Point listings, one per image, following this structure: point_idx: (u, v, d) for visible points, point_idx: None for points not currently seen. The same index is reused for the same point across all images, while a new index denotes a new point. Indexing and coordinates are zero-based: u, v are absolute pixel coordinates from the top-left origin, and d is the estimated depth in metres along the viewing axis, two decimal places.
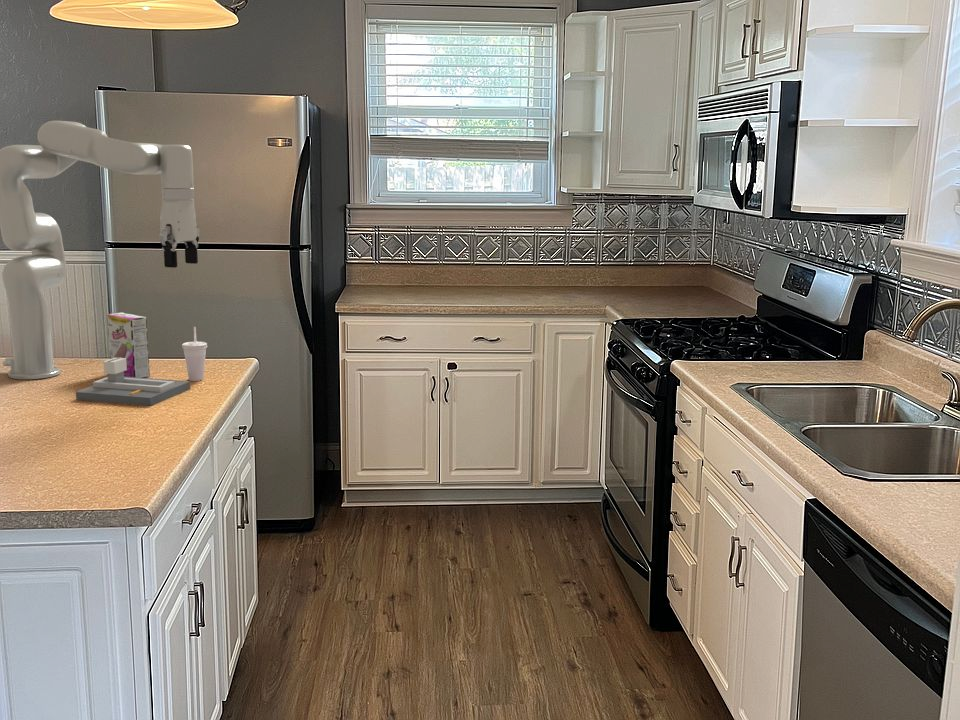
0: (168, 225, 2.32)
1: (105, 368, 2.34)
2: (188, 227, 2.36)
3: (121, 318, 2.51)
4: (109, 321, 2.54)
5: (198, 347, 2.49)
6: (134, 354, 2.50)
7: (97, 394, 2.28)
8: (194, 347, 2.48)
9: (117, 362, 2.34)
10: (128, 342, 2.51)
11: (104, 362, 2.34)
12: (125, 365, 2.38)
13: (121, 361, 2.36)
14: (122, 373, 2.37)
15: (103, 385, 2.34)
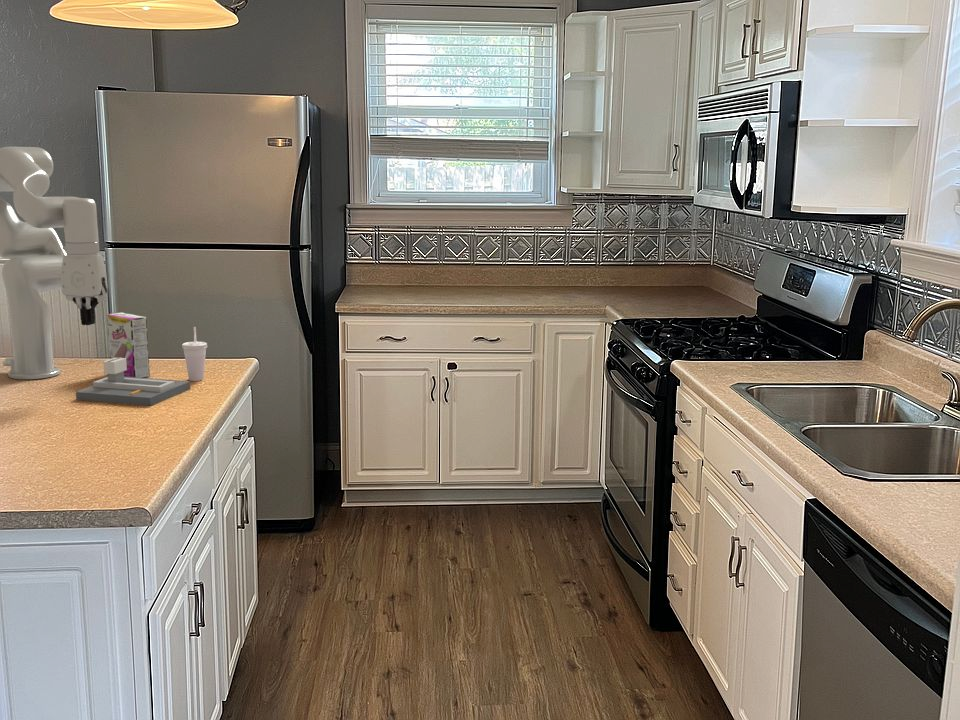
0: None
1: (105, 368, 2.34)
2: None
3: (121, 318, 2.51)
4: (109, 321, 2.54)
5: (198, 347, 2.49)
6: (134, 354, 2.50)
7: (97, 394, 2.28)
8: (194, 347, 2.48)
9: (117, 362, 2.34)
10: (128, 342, 2.51)
11: (104, 362, 2.34)
12: (125, 365, 2.38)
13: (121, 361, 2.36)
14: (122, 373, 2.37)
15: (103, 385, 2.34)
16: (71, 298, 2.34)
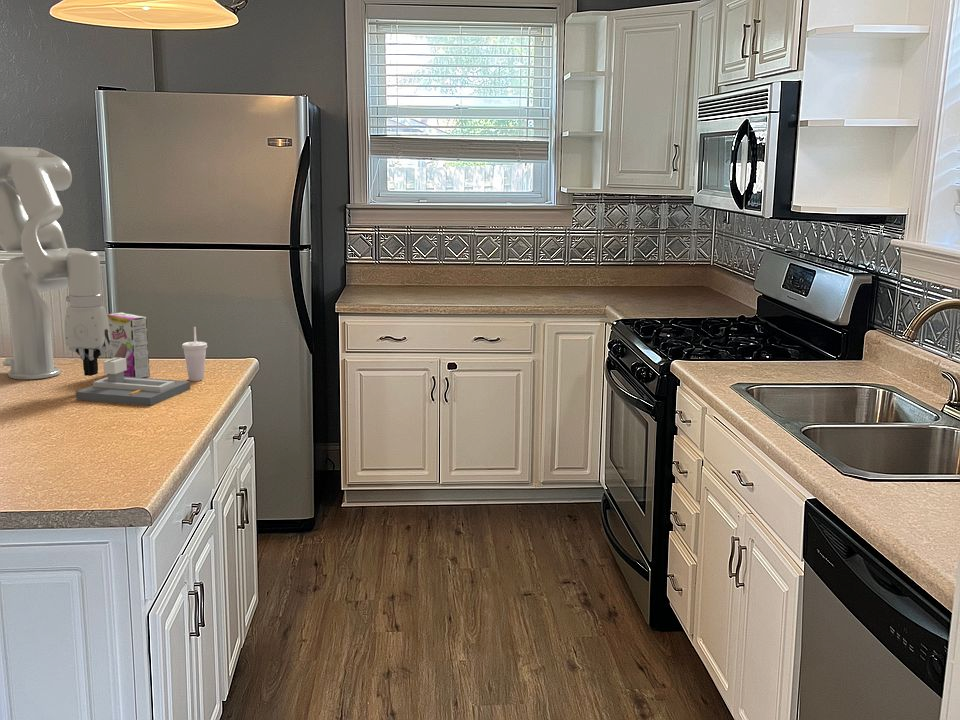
0: None
1: (105, 368, 2.34)
2: None
3: (121, 318, 2.51)
4: (109, 321, 2.54)
5: (198, 347, 2.49)
6: (134, 354, 2.50)
7: (97, 394, 2.28)
8: (194, 347, 2.48)
9: (117, 362, 2.34)
10: (128, 342, 2.51)
11: (104, 362, 2.34)
12: (125, 365, 2.38)
13: (121, 361, 2.36)
14: (122, 373, 2.37)
15: (103, 385, 2.34)
16: (74, 348, 2.37)
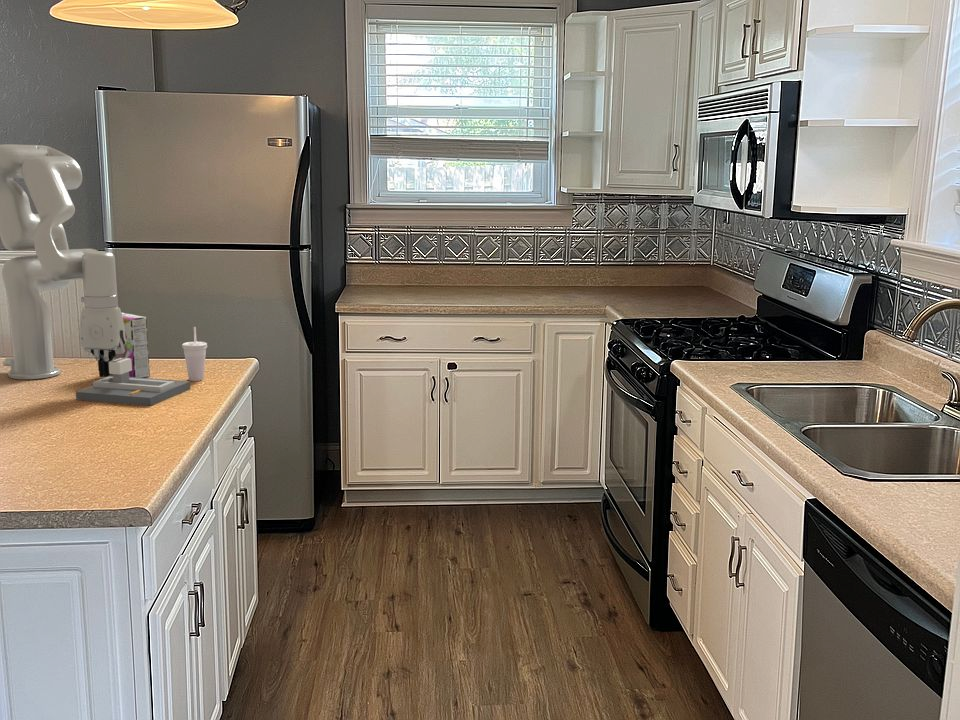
0: None
1: (110, 368, 2.34)
2: None
3: None
4: None
5: (198, 347, 2.49)
6: (134, 354, 2.50)
7: (97, 394, 2.28)
8: (194, 347, 2.48)
9: (122, 362, 2.34)
10: (128, 342, 2.51)
11: (109, 362, 2.33)
12: (130, 365, 2.37)
13: (126, 361, 2.36)
14: (127, 373, 2.37)
15: (103, 385, 2.34)
16: (89, 349, 2.36)
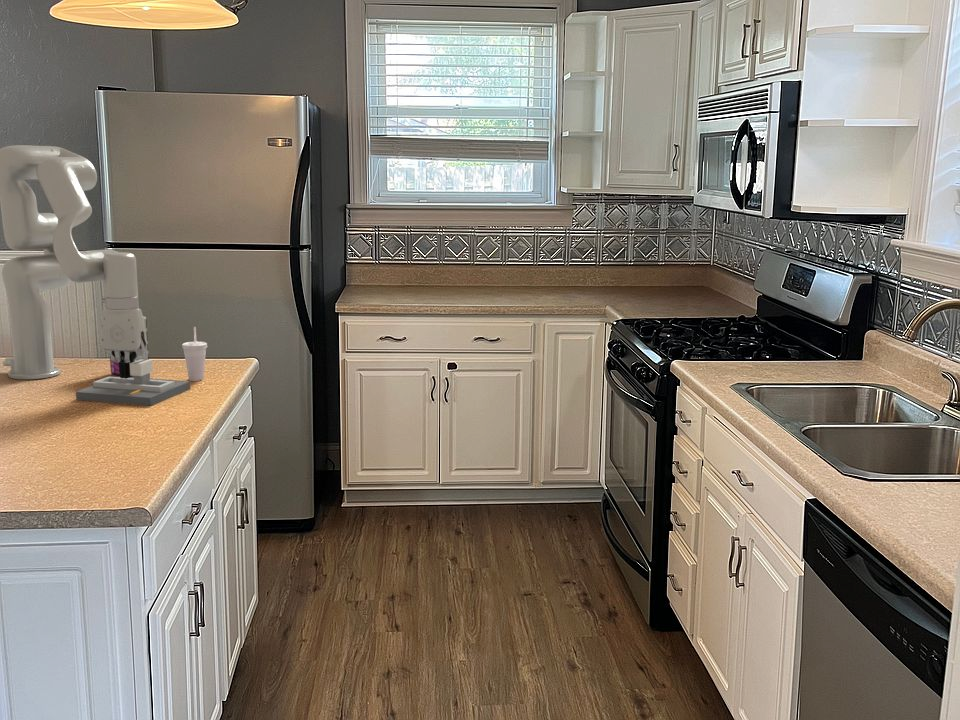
0: None
1: (131, 370, 2.32)
2: None
3: None
4: None
5: (198, 347, 2.49)
6: None
7: (97, 394, 2.28)
8: (194, 347, 2.48)
9: (143, 364, 2.33)
10: None
11: (130, 364, 2.32)
12: (151, 367, 2.36)
13: (147, 363, 2.34)
14: (148, 375, 2.36)
15: (103, 385, 2.34)
16: (109, 351, 2.35)
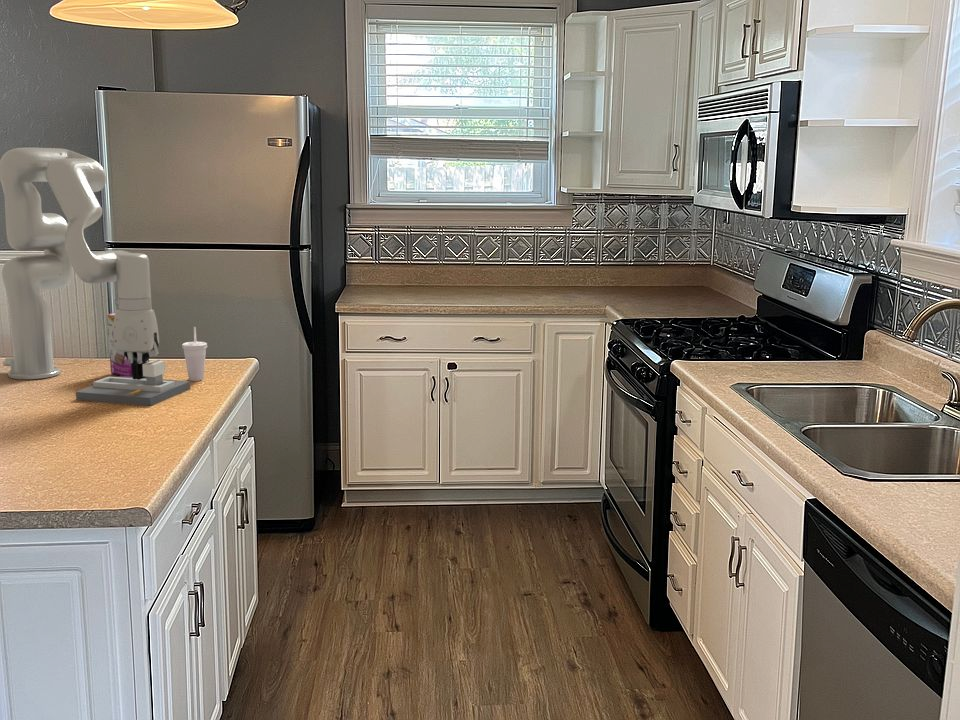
0: None
1: (144, 371, 2.32)
2: None
3: None
4: (109, 321, 2.54)
5: (198, 347, 2.49)
6: None
7: (97, 394, 2.28)
8: (194, 347, 2.48)
9: (156, 365, 2.32)
10: None
11: (143, 365, 2.31)
12: (164, 368, 2.35)
13: (160, 364, 2.34)
14: (161, 376, 2.35)
15: (103, 385, 2.34)
16: (122, 352, 2.34)
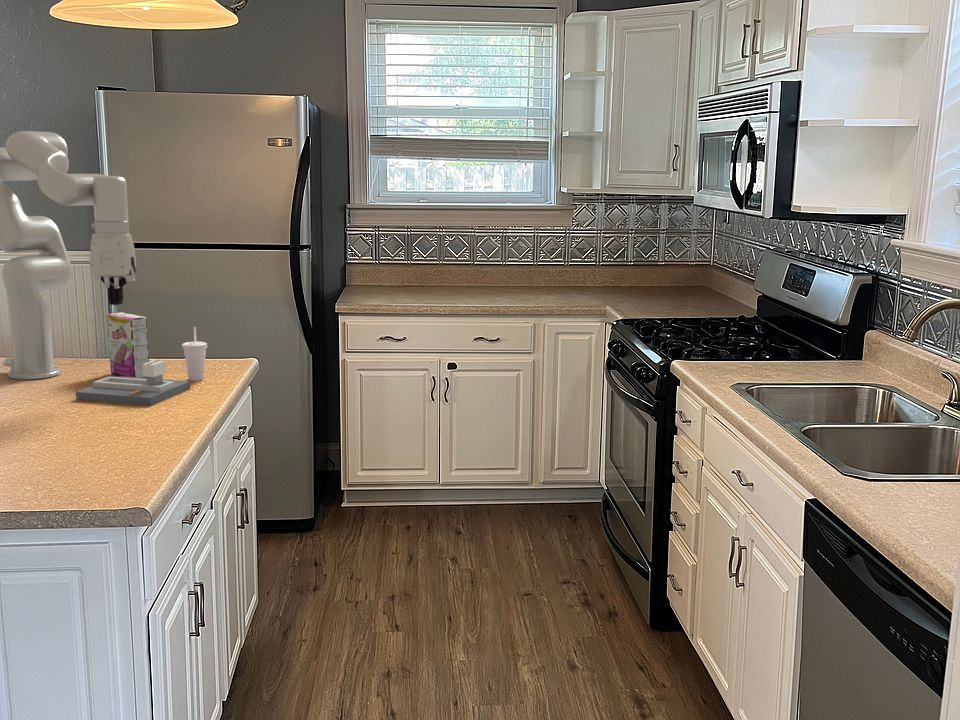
0: None
1: (144, 371, 2.32)
2: None
3: (121, 318, 2.51)
4: (109, 321, 2.54)
5: (198, 347, 2.49)
6: (134, 354, 2.50)
7: (97, 394, 2.28)
8: (194, 347, 2.48)
9: (156, 365, 2.32)
10: (128, 342, 2.51)
11: (143, 365, 2.31)
12: (164, 368, 2.35)
13: (160, 364, 2.34)
14: (161, 376, 2.35)
15: (103, 385, 2.34)
16: (99, 277, 2.32)
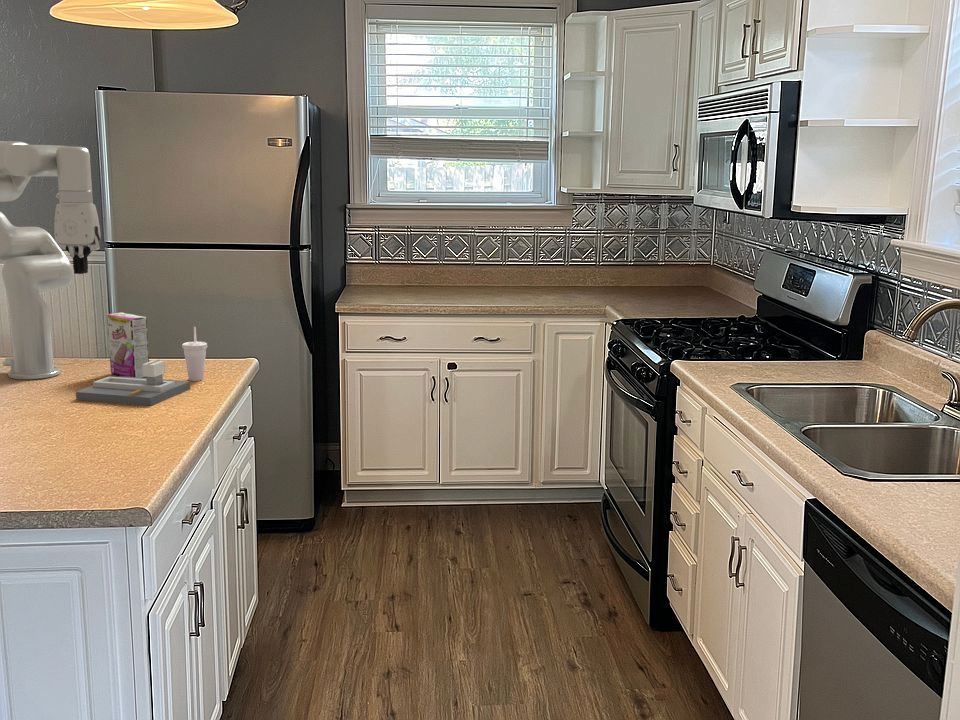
0: None
1: (144, 371, 2.32)
2: None
3: (121, 318, 2.51)
4: (109, 321, 2.54)
5: (198, 347, 2.49)
6: (134, 354, 2.50)
7: (97, 394, 2.28)
8: (194, 347, 2.48)
9: (156, 365, 2.32)
10: (128, 342, 2.51)
11: (143, 365, 2.31)
12: (164, 368, 2.35)
13: (160, 364, 2.34)
14: (161, 376, 2.35)
15: (103, 385, 2.34)
16: (64, 246, 2.36)
